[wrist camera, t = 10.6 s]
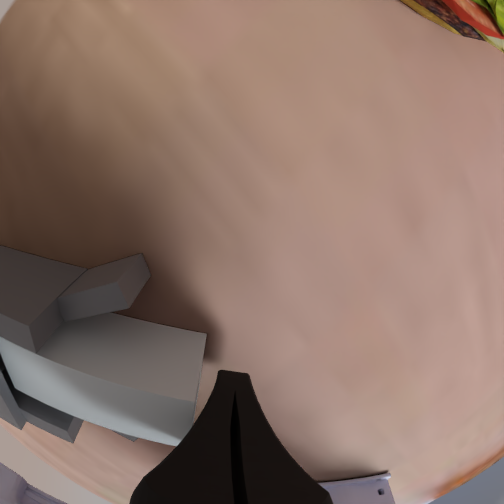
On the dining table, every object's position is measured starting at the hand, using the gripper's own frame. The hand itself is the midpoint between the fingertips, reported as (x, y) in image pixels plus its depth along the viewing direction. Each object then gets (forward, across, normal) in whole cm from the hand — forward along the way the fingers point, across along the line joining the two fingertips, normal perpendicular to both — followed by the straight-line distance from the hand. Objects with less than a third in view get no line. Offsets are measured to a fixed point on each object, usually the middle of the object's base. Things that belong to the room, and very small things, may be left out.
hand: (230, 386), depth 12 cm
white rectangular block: (+1, +6, 0) cm, 6 cm away
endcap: (+1, +10, 0) cm, 10 cm away
